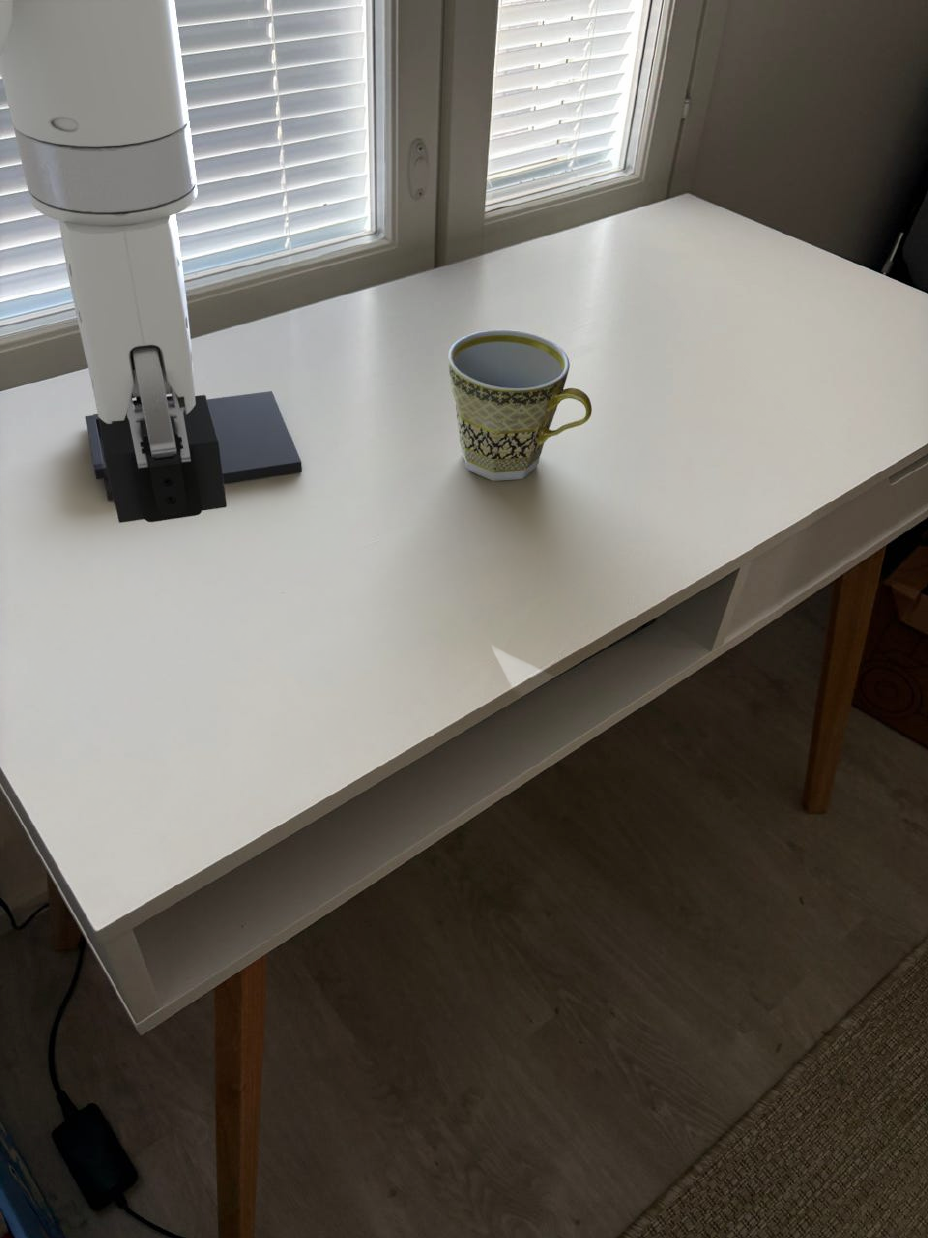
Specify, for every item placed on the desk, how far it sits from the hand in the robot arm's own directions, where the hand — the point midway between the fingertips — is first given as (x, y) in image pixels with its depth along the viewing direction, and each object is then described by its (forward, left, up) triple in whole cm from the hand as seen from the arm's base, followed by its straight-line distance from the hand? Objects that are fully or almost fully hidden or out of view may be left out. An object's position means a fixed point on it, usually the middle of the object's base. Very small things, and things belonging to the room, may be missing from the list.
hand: (166, 483), depth 59 cm
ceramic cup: (+30, +17, -16) cm, 38 cm away
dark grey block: (0, 0, 0) cm, 0 cm away
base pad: (+4, +27, -15) cm, 31 cm away
